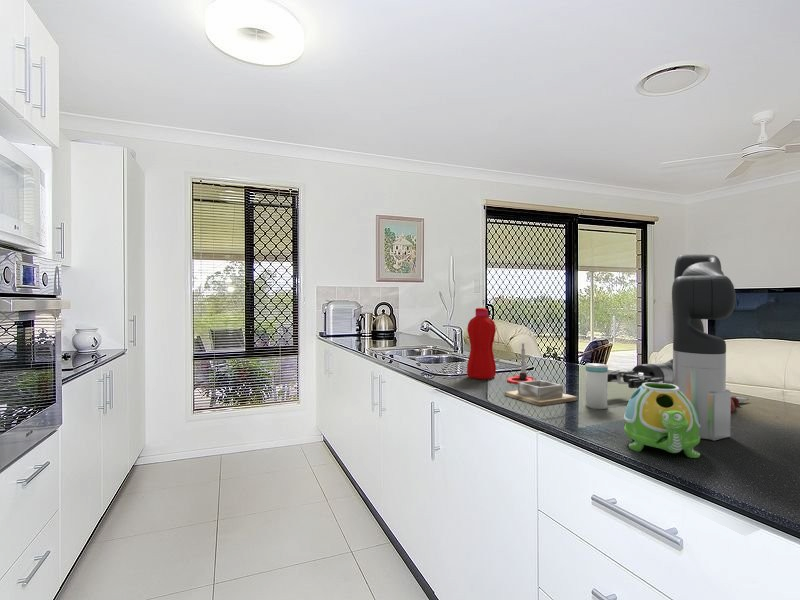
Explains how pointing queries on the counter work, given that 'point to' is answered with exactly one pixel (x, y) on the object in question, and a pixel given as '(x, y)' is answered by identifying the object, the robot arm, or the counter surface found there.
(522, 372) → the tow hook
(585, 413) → the counter surface
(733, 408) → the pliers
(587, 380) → the cylindrical container
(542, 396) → the wooden square holder
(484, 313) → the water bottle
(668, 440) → the turtle holder
